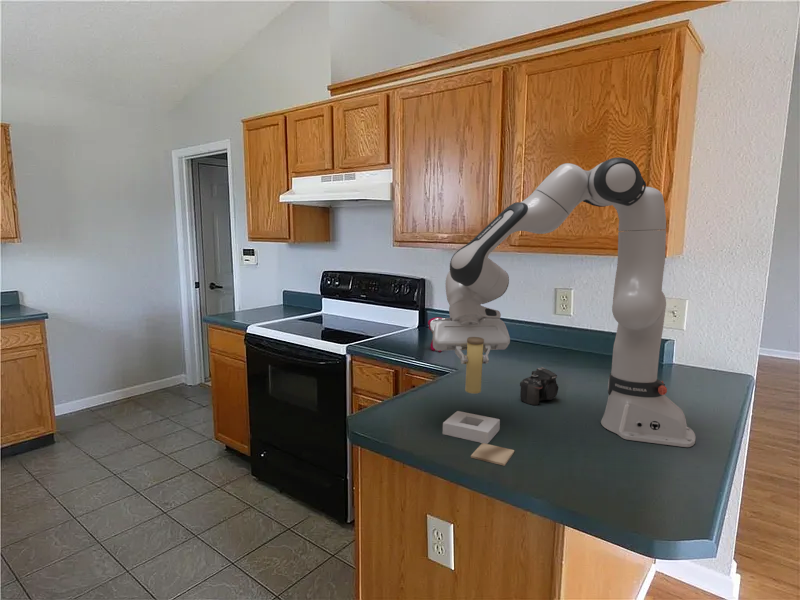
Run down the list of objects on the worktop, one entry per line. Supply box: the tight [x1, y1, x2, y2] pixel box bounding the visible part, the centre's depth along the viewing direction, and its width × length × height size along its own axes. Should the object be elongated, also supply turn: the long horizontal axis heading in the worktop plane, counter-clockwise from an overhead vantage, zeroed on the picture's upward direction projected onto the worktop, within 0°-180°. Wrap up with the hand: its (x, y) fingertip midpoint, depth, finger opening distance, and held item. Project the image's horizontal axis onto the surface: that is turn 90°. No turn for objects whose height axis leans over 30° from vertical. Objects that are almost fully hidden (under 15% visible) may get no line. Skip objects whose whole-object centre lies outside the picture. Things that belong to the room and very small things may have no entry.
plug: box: [464, 337, 484, 394], centre depth 125 cm, size 4×4×14 cm
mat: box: [470, 443, 515, 467], centre depth 114 cm, size 8×8×1 cm
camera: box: [519, 366, 559, 406], centre depth 153 cm, size 13×10×10 cm
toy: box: [427, 316, 443, 353], centre depth 213 cm, size 8×8×15 cm
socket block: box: [442, 410, 501, 444], centre depth 127 cm, size 12×10×3 cm
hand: (475, 362), depth 124 cm, fingers closed on plug, 4 cm apart
